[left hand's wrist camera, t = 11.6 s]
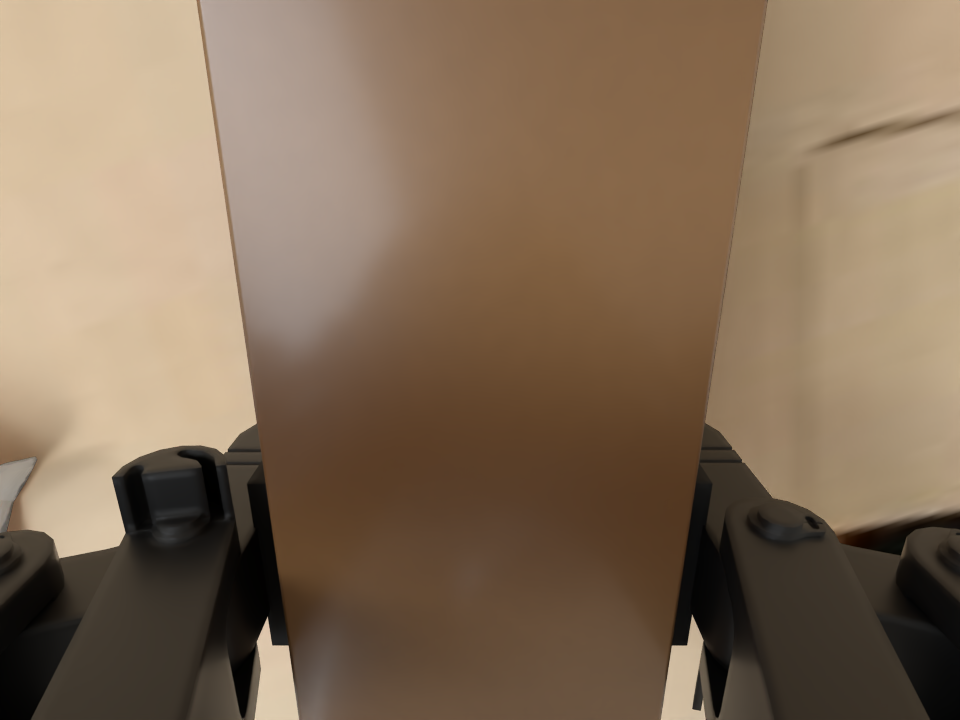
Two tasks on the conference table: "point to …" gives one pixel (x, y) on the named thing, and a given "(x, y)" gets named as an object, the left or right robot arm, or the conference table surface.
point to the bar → (481, 333)
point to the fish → (12, 486)
